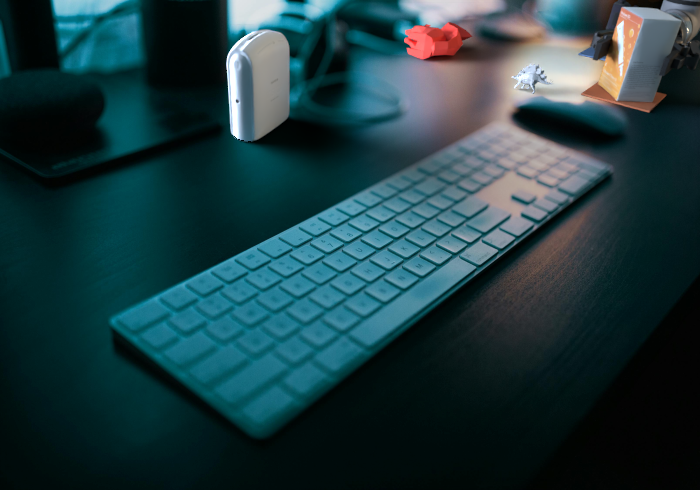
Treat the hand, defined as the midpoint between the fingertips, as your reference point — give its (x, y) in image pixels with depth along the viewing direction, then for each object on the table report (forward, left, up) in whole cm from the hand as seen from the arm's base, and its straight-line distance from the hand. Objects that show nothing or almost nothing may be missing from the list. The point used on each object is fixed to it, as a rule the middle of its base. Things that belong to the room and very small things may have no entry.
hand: (630, 59), depth 92 cm
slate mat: (+9, -33, -7) cm, 35 cm away
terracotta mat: (0, -4, -7) cm, 8 cm away
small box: (0, -4, -7) cm, 8 cm away
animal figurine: (+36, -2, -7) cm, 36 cm away
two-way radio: (+9, -28, -7) cm, 30 cm away
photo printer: (+33, +49, -7) cm, 59 cm away
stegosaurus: (+13, +6, -7) cm, 16 cm away
